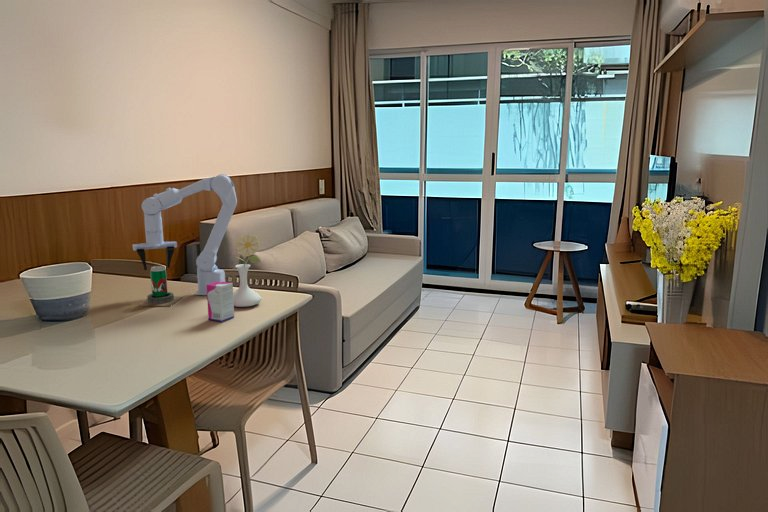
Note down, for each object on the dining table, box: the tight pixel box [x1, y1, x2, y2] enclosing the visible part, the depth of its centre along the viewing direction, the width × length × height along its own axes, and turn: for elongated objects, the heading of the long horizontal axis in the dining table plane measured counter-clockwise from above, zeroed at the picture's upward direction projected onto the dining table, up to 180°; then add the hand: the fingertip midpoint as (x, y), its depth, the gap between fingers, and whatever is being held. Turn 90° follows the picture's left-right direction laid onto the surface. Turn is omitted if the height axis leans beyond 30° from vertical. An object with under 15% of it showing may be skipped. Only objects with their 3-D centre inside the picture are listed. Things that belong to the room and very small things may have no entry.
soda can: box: [149, 265, 169, 298], centre depth 182 cm, size 5×5×12 cm
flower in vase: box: [233, 233, 262, 308], centre depth 178 cm, size 13×11×25 cm
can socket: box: [137, 291, 184, 308], centre depth 183 cm, size 11×11×2 cm
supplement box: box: [206, 281, 235, 323], centre depth 165 cm, size 6×6×12 cm
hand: (157, 268), depth 190 cm, fingers open, 7 cm apart
